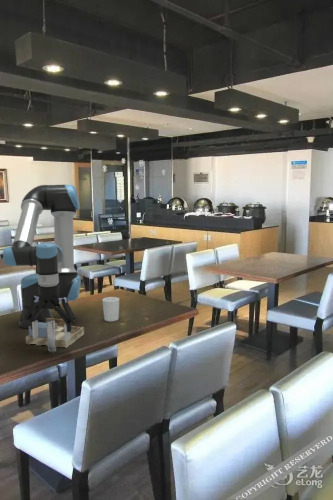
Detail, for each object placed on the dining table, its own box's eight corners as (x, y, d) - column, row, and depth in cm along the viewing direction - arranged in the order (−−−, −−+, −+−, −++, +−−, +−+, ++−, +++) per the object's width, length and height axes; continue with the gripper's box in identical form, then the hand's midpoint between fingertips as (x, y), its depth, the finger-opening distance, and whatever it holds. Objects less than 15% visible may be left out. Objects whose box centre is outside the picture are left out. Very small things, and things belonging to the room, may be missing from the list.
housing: (29, 335, 166) (28, 326, 165) (37, 330, 172) (36, 322, 171) (46, 337, 164) (46, 328, 163) (54, 332, 170) (54, 323, 169)
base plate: (26, 344, 166) (25, 329, 165) (46, 330, 181) (46, 317, 180) (66, 347, 161) (65, 333, 160) (84, 333, 177) (83, 320, 176)
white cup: (116, 322, 191) (116, 301, 190) (100, 321, 193) (100, 301, 192) (121, 317, 199) (121, 297, 198) (106, 316, 201) (105, 296, 199)
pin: (46, 352, 157) (45, 321, 155) (50, 349, 160) (49, 319, 158) (53, 352, 156) (52, 322, 155) (57, 349, 159) (56, 320, 158)
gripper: (13, 285, 154) (17, 339, 157) (74, 288, 148) (76, 344, 151) (25, 281, 161) (28, 333, 164) (83, 283, 155) (85, 337, 158)
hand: (51, 338), depth 157 cm, fingers open, 13 cm apart
